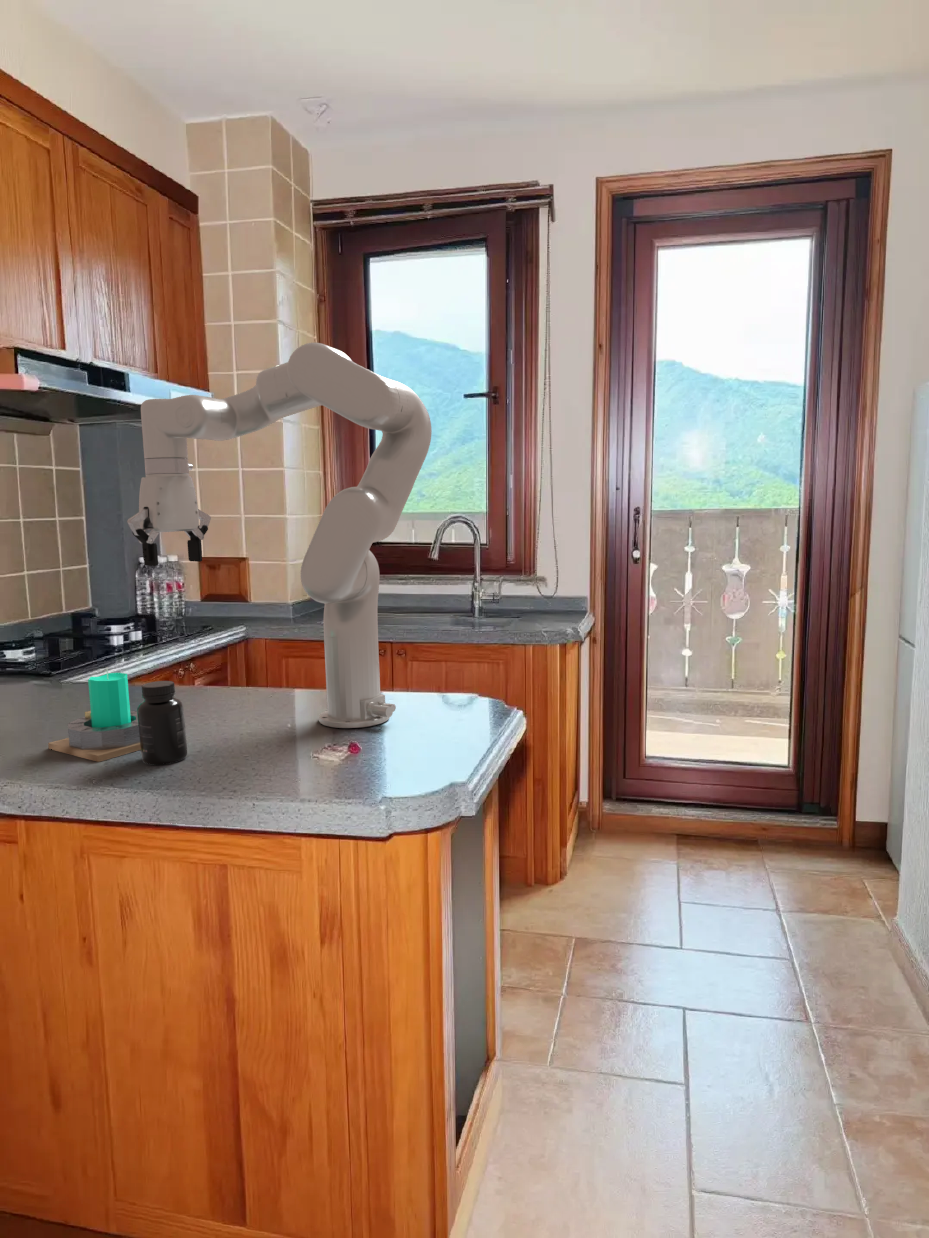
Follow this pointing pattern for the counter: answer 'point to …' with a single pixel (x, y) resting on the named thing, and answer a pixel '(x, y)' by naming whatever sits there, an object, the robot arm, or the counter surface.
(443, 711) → the counter surface
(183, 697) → the counter surface
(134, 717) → the steel collar
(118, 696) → the candle
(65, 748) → the oak board
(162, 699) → the supplement bottle
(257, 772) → the counter surface
